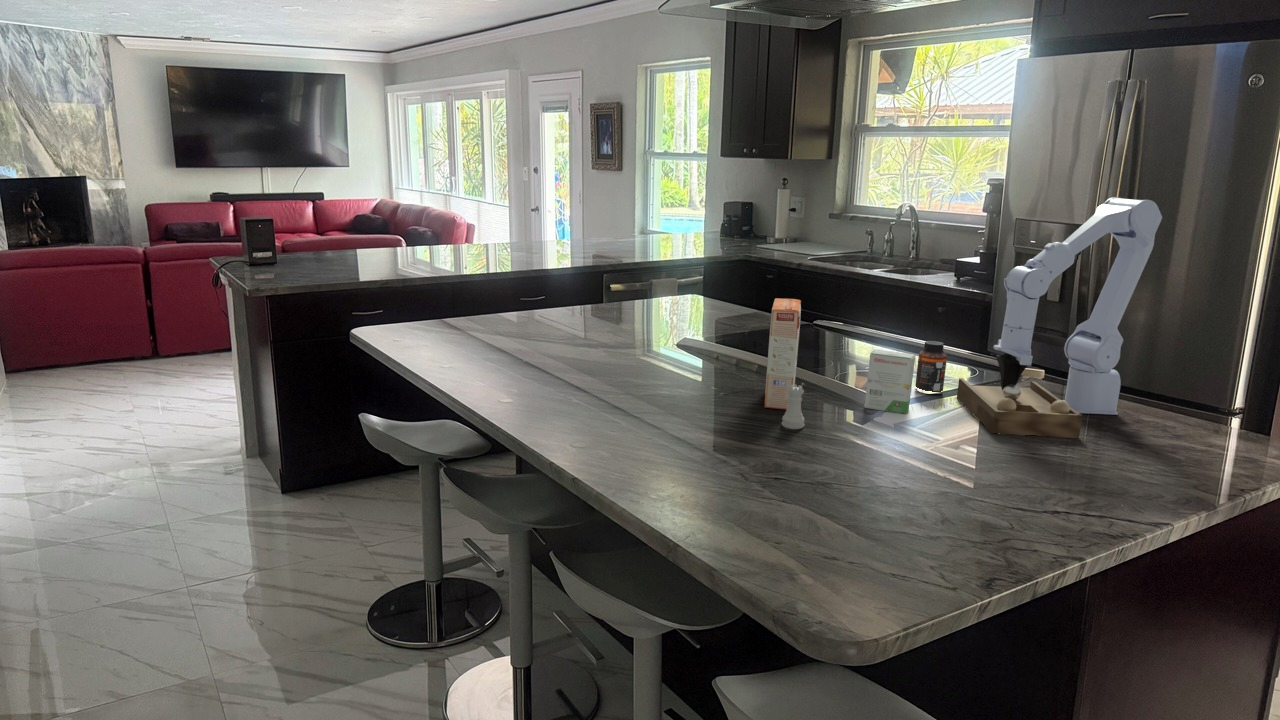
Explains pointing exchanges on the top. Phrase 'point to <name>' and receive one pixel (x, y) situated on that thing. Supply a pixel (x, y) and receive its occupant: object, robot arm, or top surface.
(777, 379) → the cracker box
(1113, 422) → the top surface
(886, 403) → the ink box
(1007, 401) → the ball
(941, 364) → the supplement bottle
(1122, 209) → the robot arm
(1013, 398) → the steel ball
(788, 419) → the rook chess piece
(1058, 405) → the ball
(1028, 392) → the board
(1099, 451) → the top surface
